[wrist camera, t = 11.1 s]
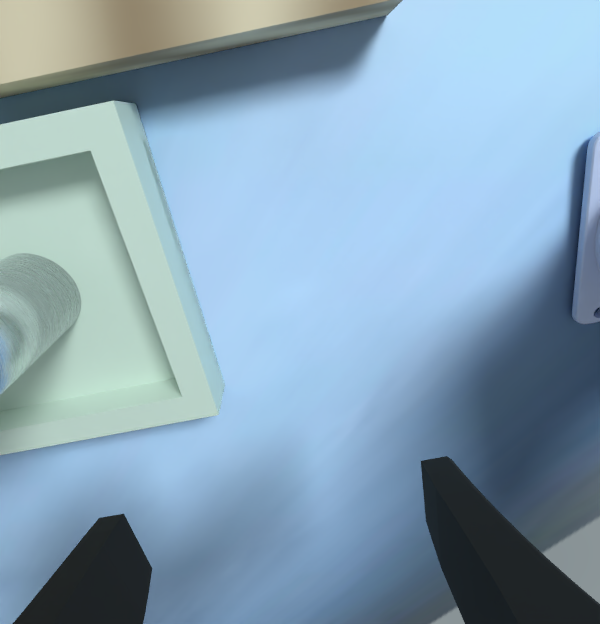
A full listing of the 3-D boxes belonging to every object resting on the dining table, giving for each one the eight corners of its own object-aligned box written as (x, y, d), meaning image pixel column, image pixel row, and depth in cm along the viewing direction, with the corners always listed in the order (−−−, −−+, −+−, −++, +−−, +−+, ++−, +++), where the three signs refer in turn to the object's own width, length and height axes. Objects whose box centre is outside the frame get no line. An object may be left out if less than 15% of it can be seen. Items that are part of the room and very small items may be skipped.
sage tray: (135, 103, 15) (113, 100, 13) (224, 385, 20) (218, 414, 18) (-188, 172, 15) (-260, 179, 13) (-21, 430, 20) (-54, 465, 18)
